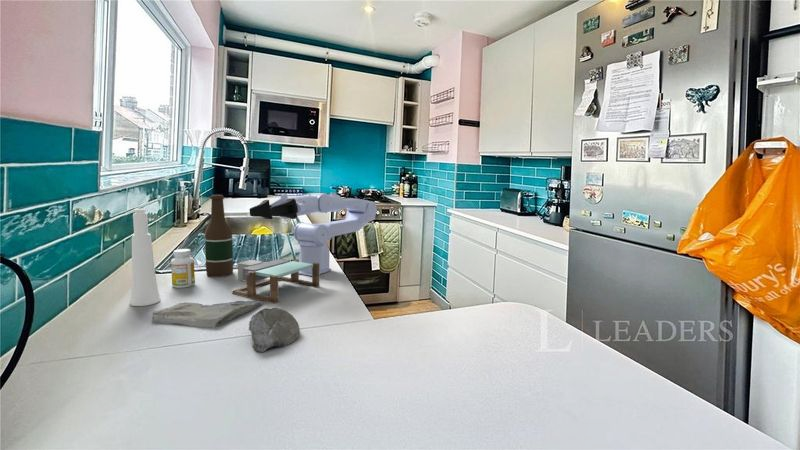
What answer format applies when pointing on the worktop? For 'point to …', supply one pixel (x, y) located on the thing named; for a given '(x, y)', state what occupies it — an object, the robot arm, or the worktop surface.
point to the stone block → (244, 265)
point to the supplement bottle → (182, 269)
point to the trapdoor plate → (276, 268)
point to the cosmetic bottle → (142, 263)
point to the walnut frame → (274, 284)
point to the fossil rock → (203, 313)
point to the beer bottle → (218, 241)
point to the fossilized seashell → (273, 328)
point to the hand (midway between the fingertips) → (260, 212)
